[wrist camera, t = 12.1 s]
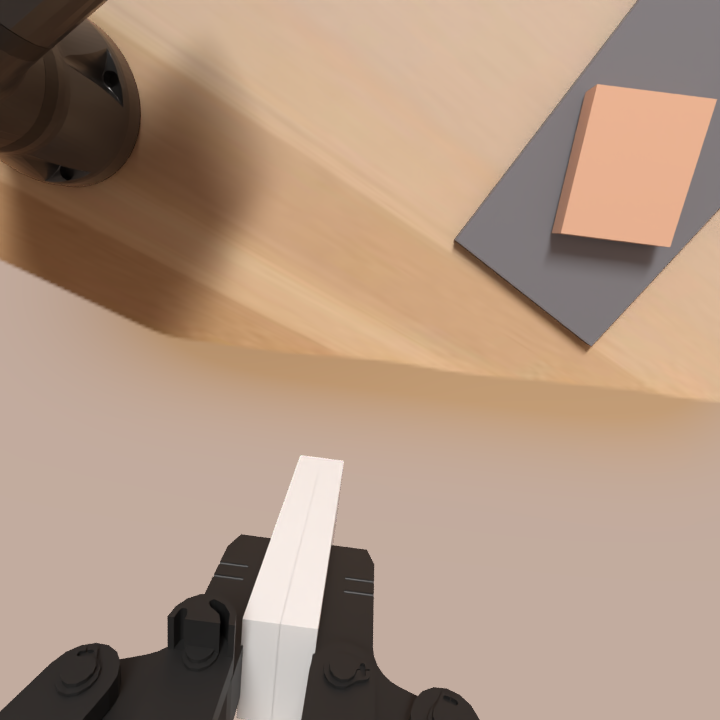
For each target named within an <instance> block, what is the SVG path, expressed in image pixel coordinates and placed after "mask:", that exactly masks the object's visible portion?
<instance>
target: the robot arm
mask: <svg viewBox="0 0 720 720" xmlns="http://www.w3.org/2000/svg"><path fill="white" fill-rule="evenodd" d="M106 1H107V0H0V160H1V161H2V162H4V163H6V164H7V165H9V166H11V167H12V168H14V169H15V170H17V171H19V172H21V173H22V174H24V175H26V176H28V177H31V178H33V179H36V180H39V181H42V182H46V183H50V184H57V185H64V186H73V187H80V186H88V185H92V184H96V183H98V182H101V181H103V180H105V179H107V178H108V177H110V176H111V175H113V174H114V173H115V172H116V171H117V170H119V168H120V167H121V166H122V165H123V164H124V163H125V161H126V160H127V158H128V157H129V155H130V153H131V152H132V149H133V147H134V145H135V142H136V139H137V135H138V130H139V124H140V103H139V96H138V91H137V87H136V83H135V80H134V77H133V74H132V72H131V69H130V67H129V65H128V63H127V61H126V59H125V57H124V56H123V54H122V53H121V51H120V50H119V48H118V47H117V45H116V44H115V43H114V42H113V41H112V39H111V38H110V37H109V36H108V35H107V34H106V33H105V32H104V31H103V30H102V29H101V28H99V27H98V26H97V25H96V24H94V23H93V22H91V21H90V20H89V19H87V18H88V17H89V16H90V15H91V14H92V13H93V12H95V11H96V10H97V9H98V8H99V7H100V6H101V5H103V4H104V3H105V2H106ZM343 464H344V461H340V460H333V459H326V458H317V457H311V456H303V455H300V458H299V461H298V464H297V466H296V469H295V472H294V475H293V478H292V481H291V484H290V487H289V489H288V492H287V495H286V498H285V500H284V503H283V506H282V509H281V512H280V514H279V517H278V520H277V523H276V526H275V529H274V532H273V534H272V537H271V538H263V537H256V536H249V535H240V536H239V537H238V538H237V539H235V540H234V541H233V542H232V543H231V544H230V545H229V546H228V547H227V549H226V551H225V553H224V555H223V557H222V559H221V561H220V564H219V565H218V567H217V569H216V572H215V574H214V577H213V578H212V580H211V582H210V584H209V586H208V588H207V590H206V592H205V594H200V595H197V596H194V597H191V598H188V599H186V600H185V601H183V602H182V603H180V604H179V605H177V606H176V607H175V608H174V609H173V611H172V612H171V613H170V614H169V615H168V647H166V648H164V649H162V650H160V651H158V652H154V653H151V654H147V655H142V656H137V657H131V658H125V659H119V657H118V654H117V652H116V651H115V650H114V649H113V648H111V647H110V646H109V645H104V644H99V643H94V644H88V645H81V646H79V647H76V648H74V649H72V650H70V651H67V652H65V653H64V654H63V655H61V656H60V657H59V658H57V659H56V660H55V661H53V662H52V663H51V664H50V665H49V666H48V667H46V668H45V669H44V670H43V671H42V672H41V673H40V674H39V675H38V676H37V677H36V678H35V679H34V680H33V681H32V682H31V683H30V684H29V685H28V686H27V687H26V688H24V690H22V691H21V692H20V693H19V694H18V695H17V696H16V697H15V698H14V699H13V700H12V701H11V702H10V703H9V704H8V705H7V706H6V707H5V708H4V709H2V710H1V712H0V720H233V719H234V715H235V712H236V709H237V718H241V719H248V720H479V718H478V716H477V715H476V713H475V711H474V710H473V708H472V706H471V705H470V704H469V703H468V702H467V701H466V700H465V699H463V698H462V697H461V696H460V695H459V694H457V693H455V692H453V691H450V690H448V689H444V688H434V687H433V688H431V689H428V690H425V691H422V692H421V693H420V695H419V696H416V695H414V694H412V693H410V692H408V691H406V690H404V689H402V688H400V687H398V686H397V685H395V684H394V683H392V682H390V681H389V680H388V679H387V678H386V677H385V676H384V675H383V673H382V672H381V671H380V669H379V667H378V666H377V664H376V661H375V658H374V655H373V599H374V597H373V593H374V563H373V561H372V559H371V557H370V555H369V553H368V551H367V550H364V549H356V548H348V547H340V546H334V545H333V541H334V534H335V527H336V520H337V511H338V504H339V496H340V488H341V480H342V471H343ZM237 705H238V706H237Z"/></svg>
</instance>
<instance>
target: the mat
mask: <svg viewBox="0 0 720 720" xmlns="http://www.w3.org/2000/svg"><path fill="white" fill-rule="evenodd" d="M597 84H601V85H609V86H616V87H624V88H632V89H640V90H648V91H656V92H664V93H672V94H680V95H688V96H696V97H704V98H712V99H717V101H716V104H715V107H714V111H713V114H712V117H711V120H710V123H709V126H708V130H707V133H706V136H705V139H704V142H703V145H702V148H701V152H700V155H699V158H698V161H697V164H696V167H695V170H694V174H693V177H692V180H691V183H690V186H689V189H688V192H687V196H686V199H685V202H684V205H683V208H682V211H681V215H680V218H679V221H678V224H677V227H676V230H675V233H674V237H673V240H672V243H671V246H670V247H657V246H648V245H640V244H633V243H625V242H617V241H609V240H601V239H594V238H586V237H578V236H570V235H562V234H555V233H552V229H553V225H554V221H555V217H556V213H557V209H558V204H559V200H560V196H561V192H562V188H563V184H564V179H565V175H566V171H567V167H568V163H569V158H570V154H571V150H572V146H573V142H574V138H575V133H576V129H577V125H578V121H579V117H580V113H581V108H582V104H583V100H584V96H585V92H586V91H588V90H589V89H591V88H592V87H594V86H595V85H597ZM719 208H720V0H637V1H636V3H635V4H634V5H633V7H632V8H631V9H630V11H629V12H628V13H627V15H626V16H625V17H624V18H623V20H622V21H621V22H620V24H619V25H618V26H617V28H616V29H615V30H614V32H613V33H612V34H611V35H610V37H609V38H608V39H607V41H606V42H605V43H604V45H603V46H602V47H601V48H600V50H599V51H598V52H597V54H596V55H595V56H594V58H593V59H592V60H591V62H590V63H589V64H588V65H587V67H586V68H585V69H584V71H583V72H582V73H581V75H580V76H579V77H578V79H577V80H576V81H575V82H574V84H573V85H572V86H571V88H570V89H569V90H568V92H567V93H566V94H565V95H564V97H563V98H562V99H561V101H560V102H559V103H558V105H557V106H556V107H555V109H554V110H553V111H552V112H551V114H550V115H549V116H548V118H547V119H546V120H545V122H544V123H543V124H542V126H541V127H540V128H539V129H538V131H537V132H536V133H535V135H534V136H533V137H532V139H531V140H530V141H529V143H528V144H527V145H526V146H525V148H524V149H523V150H522V152H521V153H520V154H519V156H518V157H517V158H516V159H515V161H514V162H513V163H512V165H511V166H510V167H509V169H508V170H507V171H506V173H505V174H504V175H503V176H502V178H501V179H500V180H499V182H498V183H497V184H496V186H495V187H494V188H493V190H492V191H491V192H490V193H489V195H488V196H487V197H486V199H485V200H484V201H483V203H482V204H481V205H480V207H479V208H478V209H477V210H476V212H475V213H474V214H473V216H472V217H471V218H470V220H469V221H468V222H467V223H466V225H465V226H464V227H463V229H462V230H461V231H460V233H459V234H458V235H457V237H456V238H455V239H454V240H455V241H456V242H458V243H459V244H460V245H461V246H463V247H464V248H465V249H467V250H468V251H469V252H470V253H472V254H473V255H474V256H475V257H477V258H478V259H479V260H481V261H482V262H483V263H484V264H486V265H487V266H488V267H489V268H491V269H492V270H493V271H495V272H496V273H497V274H498V275H500V276H501V277H502V278H504V279H505V280H506V281H507V282H509V283H510V284H511V285H512V286H514V287H515V288H516V289H518V290H519V291H520V292H521V293H523V294H524V295H525V296H526V297H528V298H529V299H530V300H532V301H533V302H534V303H535V304H537V305H538V306H539V307H541V308H542V309H543V310H544V311H546V312H547V313H548V314H549V315H551V316H552V317H553V318H555V319H556V320H557V321H558V322H560V323H561V324H562V325H563V326H565V327H566V328H567V329H569V330H570V331H571V332H572V333H574V334H575V335H576V336H578V337H579V338H580V339H581V340H583V341H584V342H585V343H586V344H588V345H590V346H592V345H593V344H594V343H595V342H596V341H597V340H598V339H599V337H600V336H601V335H602V334H603V333H604V332H605V331H606V330H607V329H608V328H609V327H610V326H611V325H612V323H613V322H614V321H615V320H616V319H617V318H618V317H619V316H620V315H621V314H622V313H623V312H624V311H625V309H626V308H627V307H628V306H629V305H630V304H631V303H632V302H633V301H634V300H635V299H636V298H637V297H638V296H639V294H640V293H641V292H642V291H643V290H644V289H645V288H646V287H647V286H648V285H649V284H650V283H651V282H652V280H653V279H654V278H655V277H656V276H657V275H658V274H659V273H660V272H661V271H662V270H663V269H664V268H665V266H666V265H667V264H668V263H669V262H670V261H671V260H672V259H673V258H674V257H675V256H676V255H677V254H678V252H679V251H680V250H681V249H682V248H683V247H684V246H685V245H686V244H687V243H688V242H689V241H690V240H691V238H692V237H693V236H694V235H695V234H696V233H697V232H698V231H699V230H700V229H701V228H702V227H703V226H704V224H705V223H706V222H707V221H708V220H709V219H710V218H711V217H712V216H713V215H714V214H715V213H716V212H717V210H718V209H719Z"/></svg>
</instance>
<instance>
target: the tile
mask: <svg viewBox="0 0 720 720" xmlns="http://www.w3.org/2000/svg"><path fill="white" fill-rule="evenodd" d="M716 101H717V99H712V98H704V97H696V96H688V95H680V94H672V93H664V92H656V91H648V90H640V89H632V88H624V87H616V86H609V85H601V84H597V85H595V86H594V87H592V88H591V89H589V90H588V91H586V92H585V96H584V100H583V104H582V108H581V113H580V117H579V121H578V125H577V129H576V133H575V138H574V142H573V146H572V150H571V154H570V158H569V163H568V167H567V171H566V175H565V179H564V184H563V188H562V192H561V196H560V200H559V204H558V209H557V213H556V217H555V221H554V225H553V229H552V233H555V234H562V235H570V236H578V237H586V238H594V239H601V240H609V241H617V242H625V243H633V244H640V245H648V246H657V247H670V246H671V243H672V240H673V237H674V233H675V230H676V227H677V224H678V221H679V218H680V215H681V211H682V208H683V205H684V202H685V199H686V196H687V192H688V189H689V186H690V183H691V180H692V177H693V174H694V170H695V167H696V164H697V161H698V158H699V155H700V152H701V148H702V145H703V142H704V139H705V136H706V133H707V130H708V126H709V123H710V120H711V117H712V114H713V111H714V107H715V104H716Z"/></svg>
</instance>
